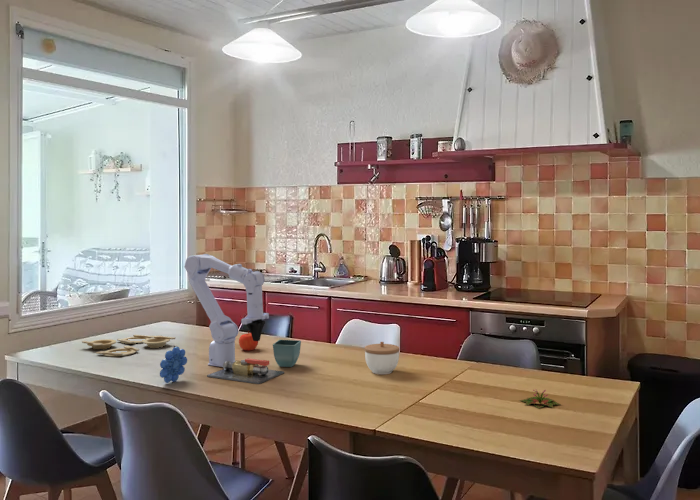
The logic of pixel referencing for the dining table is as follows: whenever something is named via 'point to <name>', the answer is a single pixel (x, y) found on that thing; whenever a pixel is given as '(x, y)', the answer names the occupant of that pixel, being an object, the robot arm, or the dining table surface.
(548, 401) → the lily flower
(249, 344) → the apple
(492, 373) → the dining table surface
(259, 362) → the lever
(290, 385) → the dining table surface
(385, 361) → the lidded bowl
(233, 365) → the valve body
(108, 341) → the tableware set
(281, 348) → the flower pot
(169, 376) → the grapes
